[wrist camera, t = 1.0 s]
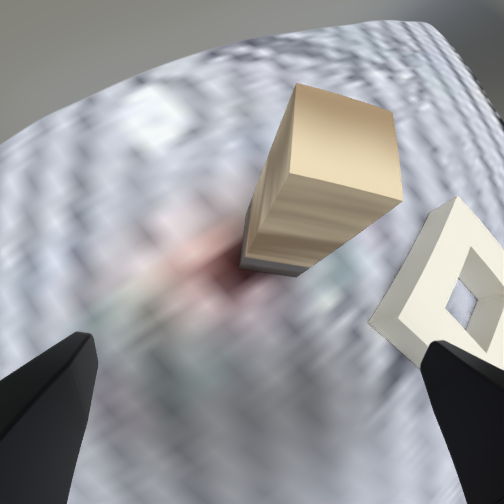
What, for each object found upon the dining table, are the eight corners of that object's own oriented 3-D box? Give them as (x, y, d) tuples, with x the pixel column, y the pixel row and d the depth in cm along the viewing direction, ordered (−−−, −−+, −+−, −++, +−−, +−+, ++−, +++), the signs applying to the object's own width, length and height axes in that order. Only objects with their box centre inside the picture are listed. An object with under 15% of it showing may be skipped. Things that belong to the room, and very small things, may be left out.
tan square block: (296, 277, 22) (402, 201, 10) (238, 268, 22) (289, 173, 10) (300, 223, 24) (392, 112, 11) (246, 213, 23) (296, 83, 11)
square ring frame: (455, 401, 22) (487, 404, 18) (367, 322, 22) (397, 318, 18) (501, 293, 25) (529, 285, 21) (429, 212, 26) (457, 195, 22)
